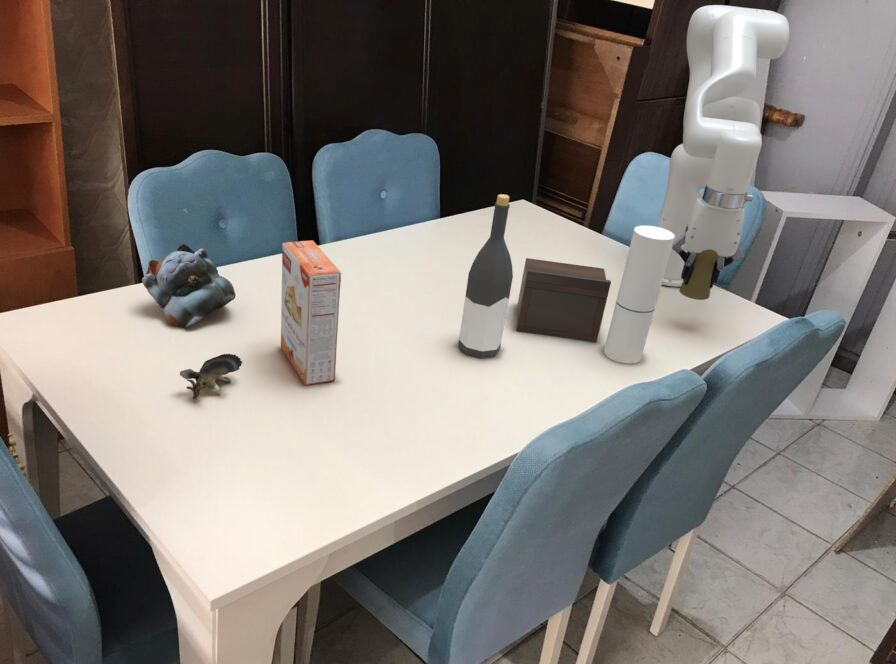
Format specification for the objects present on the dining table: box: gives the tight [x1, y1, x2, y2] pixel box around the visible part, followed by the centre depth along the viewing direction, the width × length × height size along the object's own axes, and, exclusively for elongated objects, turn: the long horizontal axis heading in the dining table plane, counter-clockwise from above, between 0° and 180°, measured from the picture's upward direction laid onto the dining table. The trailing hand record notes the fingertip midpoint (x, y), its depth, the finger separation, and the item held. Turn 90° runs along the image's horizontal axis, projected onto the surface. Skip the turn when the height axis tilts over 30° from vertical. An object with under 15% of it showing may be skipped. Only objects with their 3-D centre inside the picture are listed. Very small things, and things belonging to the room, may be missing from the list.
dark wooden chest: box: [515, 257, 612, 343], centre depth 170 cm, size 12×16×13 cm
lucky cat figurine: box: [141, 243, 237, 329], centre depth 161 cm, size 15×12×14 cm
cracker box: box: [280, 239, 342, 386], centre depth 144 cm, size 14×6×21 cm, turn 23°
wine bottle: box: [458, 193, 514, 359], centre depth 153 cm, size 8×8×30 cm
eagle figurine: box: [179, 353, 243, 401], centre depth 138 cm, size 8×7×9 cm
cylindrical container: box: [603, 224, 675, 365], centre depth 157 cm, size 7×7×25 cm
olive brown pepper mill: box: [678, 249, 719, 301], centre depth 169 cm, size 6×6×11 cm
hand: (697, 282), depth 171 cm, fingers closed on olive brown pepper mill, 4 cm apart
